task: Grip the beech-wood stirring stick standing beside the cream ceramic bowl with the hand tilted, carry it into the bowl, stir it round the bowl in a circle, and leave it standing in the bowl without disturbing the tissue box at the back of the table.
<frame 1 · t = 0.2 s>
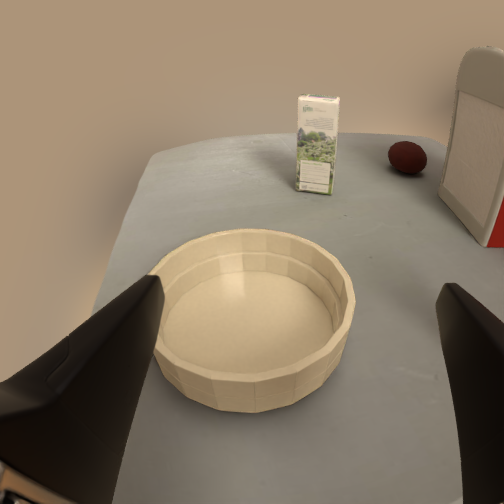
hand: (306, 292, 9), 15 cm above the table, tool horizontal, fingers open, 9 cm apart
tissue box: (494, 220, 41), on the table
potato: (404, 171, 56), on the table
syrup box: (315, 187, 50), on the table
bowl: (248, 330, 27), on the table
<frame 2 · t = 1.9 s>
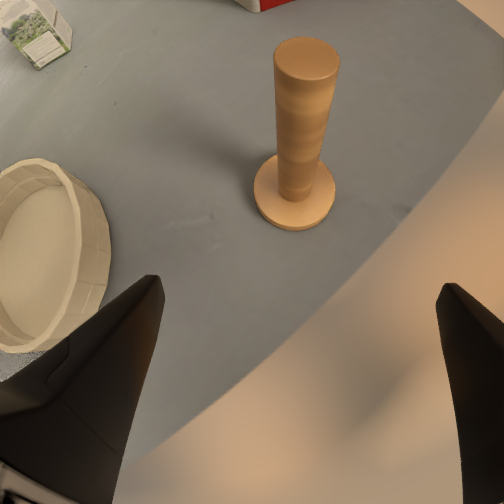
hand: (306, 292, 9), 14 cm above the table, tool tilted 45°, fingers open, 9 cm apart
syrup box: (56, 51, 31), on the table
bowl: (44, 261, 25), on the table
stirring stick: (294, 192, 24), on the table
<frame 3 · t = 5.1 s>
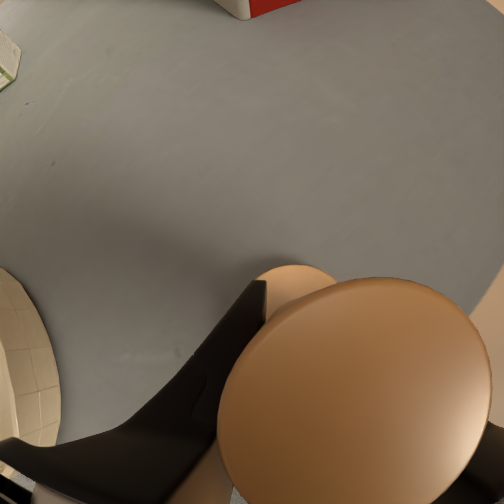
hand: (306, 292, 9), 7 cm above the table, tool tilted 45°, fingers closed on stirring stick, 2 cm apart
syrup box: (2, 79, 23), on the table
stirring stick: (293, 324, 16), on the table, touching gripper
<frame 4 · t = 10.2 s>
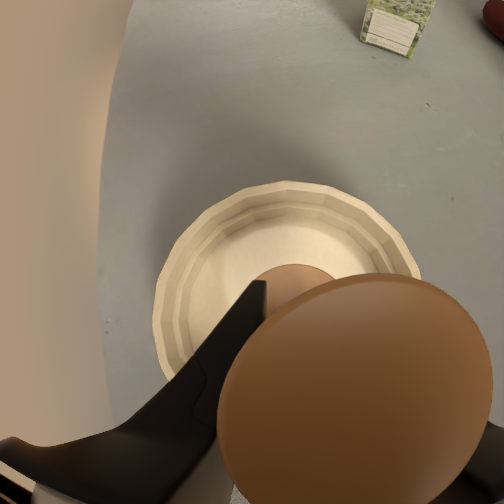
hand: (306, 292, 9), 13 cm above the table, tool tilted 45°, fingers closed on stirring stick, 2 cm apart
potato: (497, 34, 25), on the table
syrup box: (386, 37, 26), on the table
bowl: (289, 317, 22), on the table
stirring stick: (293, 323, 16), point 6 cm above the table, touching gripper
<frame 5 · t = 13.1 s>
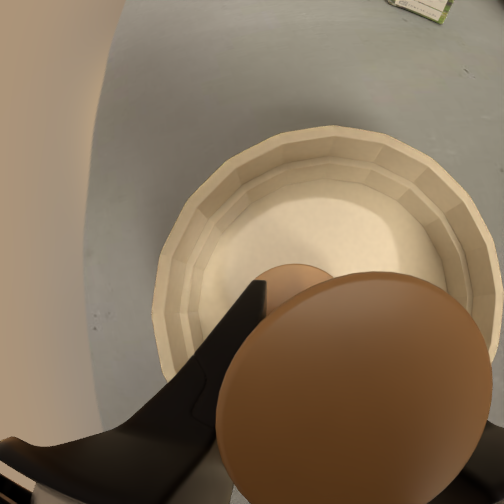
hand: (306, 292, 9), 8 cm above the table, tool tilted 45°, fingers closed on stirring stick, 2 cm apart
syrup box: (414, 3, 21), on the table
bowl: (330, 307, 17), on the table
stirring stick: (293, 323, 16), point 1 cm above the table, touching gripper
when the fingers open (8 cm above the table, at t = 15.6 s): stirring stick stays where it is, resting on bowl.
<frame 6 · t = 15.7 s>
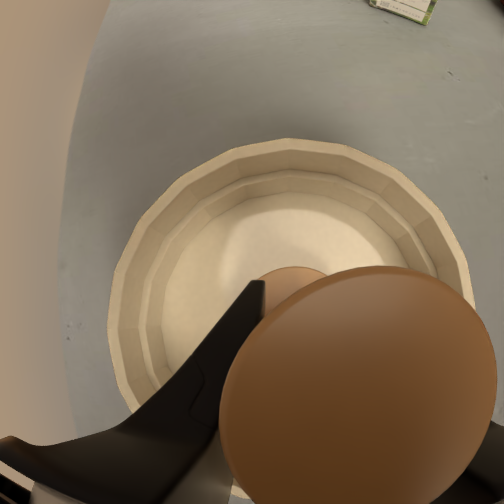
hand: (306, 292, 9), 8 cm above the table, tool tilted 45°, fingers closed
syrup box: (398, 4, 21), on the table
bowl: (293, 324, 17), on the table
stirring stick: (293, 326, 16), point 1 cm above the table, touching bowl
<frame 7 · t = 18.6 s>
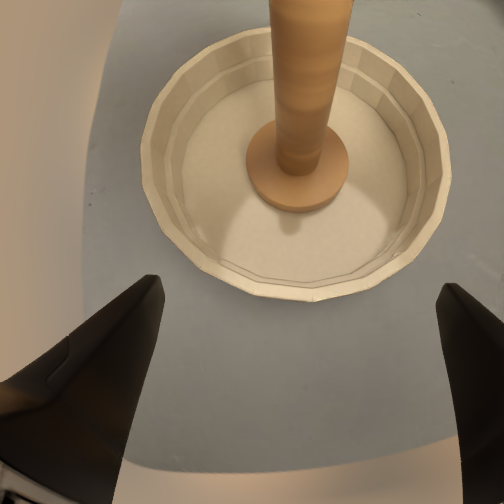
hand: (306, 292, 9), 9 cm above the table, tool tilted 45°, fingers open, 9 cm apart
bowl: (296, 169, 20), on the table
stirring stick: (296, 166, 19), point 1 cm above the table, touching bowl
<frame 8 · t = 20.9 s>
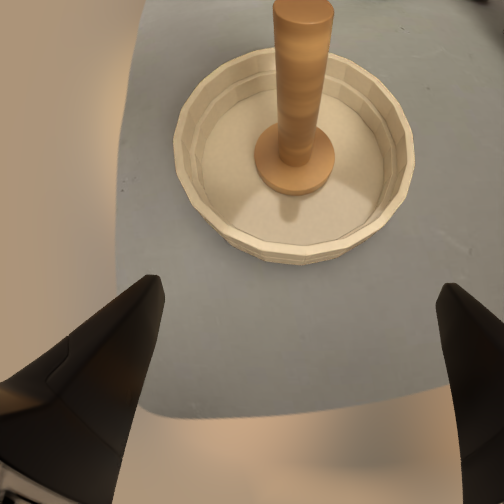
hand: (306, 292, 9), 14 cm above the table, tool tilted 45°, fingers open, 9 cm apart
bowl: (293, 162, 24), on the table
stirring stick: (294, 159, 24), point 1 cm above the table, touching bowl
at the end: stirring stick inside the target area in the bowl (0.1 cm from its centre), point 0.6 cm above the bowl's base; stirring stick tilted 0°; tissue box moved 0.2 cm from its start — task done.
